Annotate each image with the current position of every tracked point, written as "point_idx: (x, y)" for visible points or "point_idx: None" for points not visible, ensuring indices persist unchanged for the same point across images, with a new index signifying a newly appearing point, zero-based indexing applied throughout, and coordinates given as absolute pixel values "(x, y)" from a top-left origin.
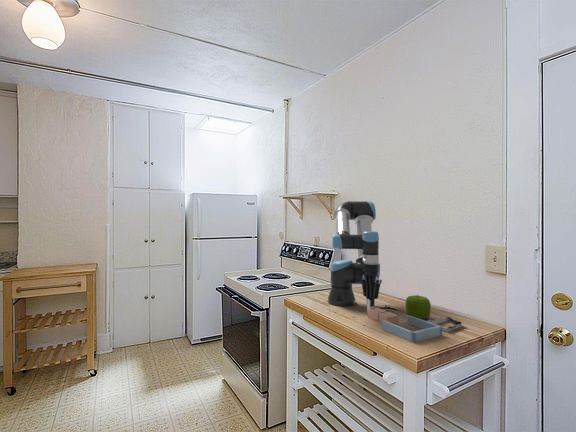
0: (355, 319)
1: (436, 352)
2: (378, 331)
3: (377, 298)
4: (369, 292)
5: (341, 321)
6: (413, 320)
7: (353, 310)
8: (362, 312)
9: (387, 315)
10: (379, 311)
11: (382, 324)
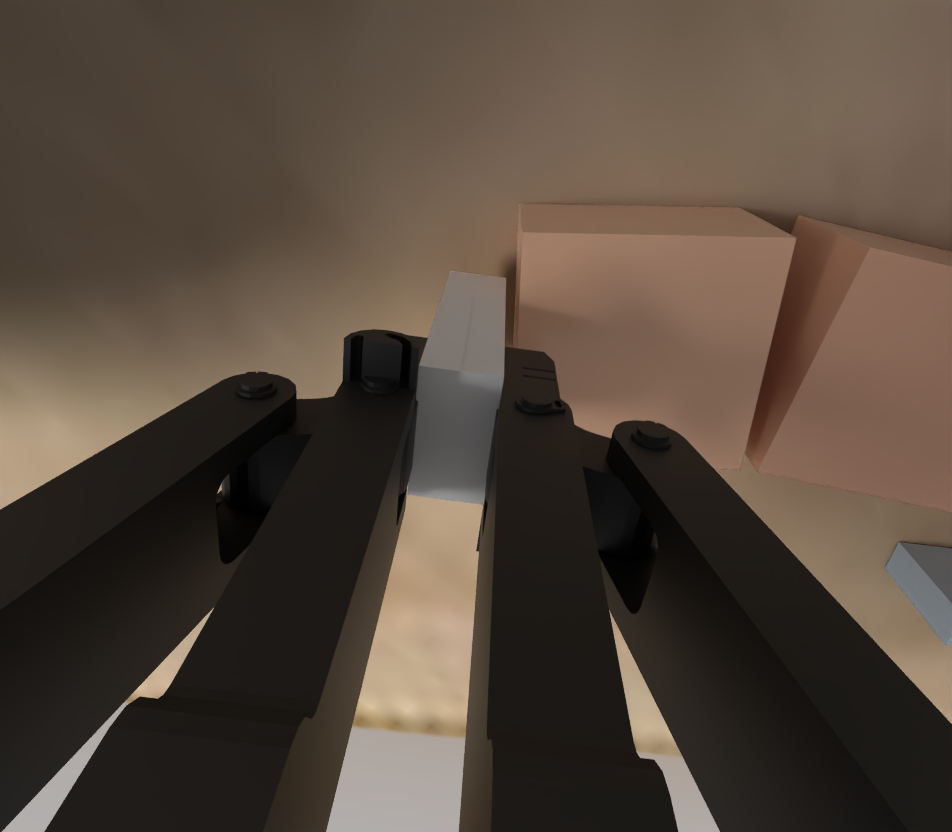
0: (464, 561)
1: None
2: (884, 639)
3: (667, 430)
4: (386, 537)
5: (430, 697)
6: None
7: (114, 307)
8: (266, 266)
9: (934, 451)
10: (712, 385)
11: (924, 610)
